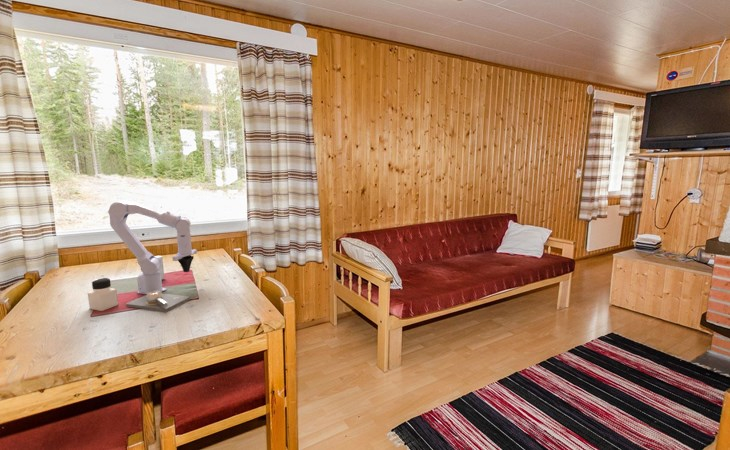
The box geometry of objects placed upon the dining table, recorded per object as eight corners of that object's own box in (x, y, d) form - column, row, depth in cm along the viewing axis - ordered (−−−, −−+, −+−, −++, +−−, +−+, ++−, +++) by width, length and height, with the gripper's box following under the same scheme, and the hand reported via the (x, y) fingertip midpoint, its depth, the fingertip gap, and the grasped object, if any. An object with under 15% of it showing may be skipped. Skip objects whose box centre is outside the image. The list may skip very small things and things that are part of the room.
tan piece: (145, 301, 150) (144, 292, 150) (159, 297, 155) (158, 289, 154) (158, 310, 141) (157, 301, 141) (173, 306, 146) (172, 297, 145)
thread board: (125, 306, 149) (125, 303, 149) (153, 294, 162) (153, 291, 162) (165, 312, 144) (165, 309, 144) (190, 299, 157) (190, 296, 157)
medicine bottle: (118, 305, 150) (115, 277, 148) (101, 311, 144) (98, 283, 141) (106, 302, 152) (103, 275, 150) (89, 308, 146) (85, 280, 144)
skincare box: (161, 277, 186) (159, 254, 184) (165, 279, 183) (163, 256, 181) (148, 280, 181) (146, 257, 179) (151, 282, 178) (149, 258, 176)
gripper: (181, 247, 159) (183, 277, 161) (201, 241, 173) (203, 267, 175) (167, 246, 160) (169, 275, 162) (188, 240, 174) (190, 266, 177)
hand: (186, 271), depth 169 cm, fingers closed
